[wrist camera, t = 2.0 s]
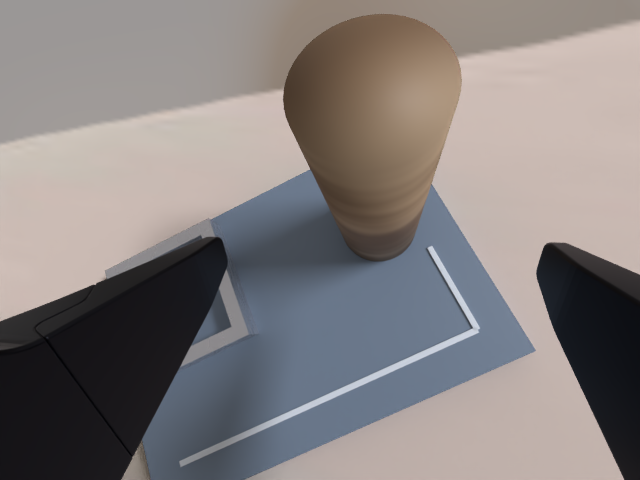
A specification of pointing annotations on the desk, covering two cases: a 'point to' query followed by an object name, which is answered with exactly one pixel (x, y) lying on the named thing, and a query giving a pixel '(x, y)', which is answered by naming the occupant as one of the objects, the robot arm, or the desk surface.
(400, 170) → the tan wooden peg
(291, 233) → the board
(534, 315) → the desk surface
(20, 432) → the robot arm
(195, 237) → the metal collar
